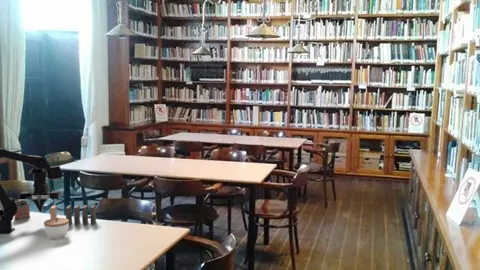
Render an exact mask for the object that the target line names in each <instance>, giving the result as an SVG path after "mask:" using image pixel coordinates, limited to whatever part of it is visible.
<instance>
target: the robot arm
mask: <svg viewBox="0 0 480 270" xmlns="http://www.w3.org/2000/svg"><path fill="white" fill-rule="evenodd" d="M1 158H5V159H9V160H13V161H17V162H21V163H24V164H27V165H30V166H32V168H31V169H30V170H29V171H28V173H29V174H33V184H32V187H33V192H31V191H28V190H27V191H22V192H20V193H19V194H18V200H27V198H31V199H30V201H32V202H33V203H34V204H35V205H36V207H37V210H38V212H39V213H42V212H43V209H44V206H45V203H46V201H48V200H49V199H54V200H57V199H59V198H60V197H62V193H61V191H60V190H52V191H51V192H50V189H51V187H50V185H48V182H47V179H48V180H49V181H54V180H62V178H63V172H62V169H61V166H60V165H55V166H50V165H49V164H48V160H47V159H46V158H45V157H43V156H40V155H32V154H31V155H30V154H28V155H27V154H23V153H19V152H17V151H16V152H15V151H11V150H7V149H4V148H2V147H0V159H1ZM33 167H34V168H33ZM36 168H37V169H36ZM15 201H16V200H15V199H14V198H13V197H11V196H10V197H9V196H8V195H7V193H6V192H5V189H4V187H3V186H2V184H1V183H0V234H11V233H12V232H13V231H15V229H16V228H15V227H13V225H12V224H13V223H12V221H13V220H14V218H15V216H14V215H15V214H16V213H17V207H18V206H17V205H18V204H16V203H15Z"/></svg>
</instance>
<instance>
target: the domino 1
mask: <svg viewBox="0 0 480 270" xmlns="http://www.w3.org/2000/svg"><path fill="white" fill-rule="evenodd" d="M49 209H50V210H49V211H50V212H49V213H50V219H54V218H56V217H58V214H57V210H58V209H57V205H52V206H51V207H50V208H49Z"/></svg>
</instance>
